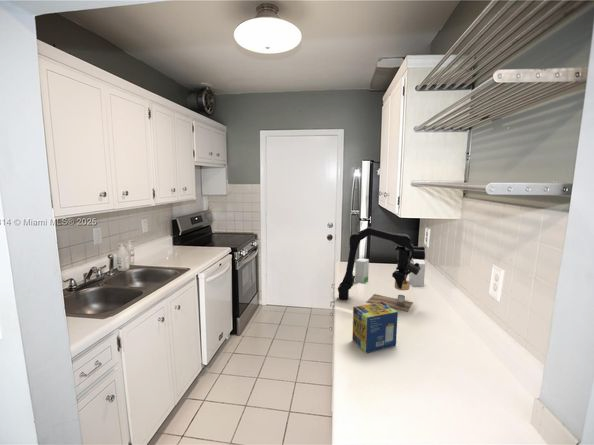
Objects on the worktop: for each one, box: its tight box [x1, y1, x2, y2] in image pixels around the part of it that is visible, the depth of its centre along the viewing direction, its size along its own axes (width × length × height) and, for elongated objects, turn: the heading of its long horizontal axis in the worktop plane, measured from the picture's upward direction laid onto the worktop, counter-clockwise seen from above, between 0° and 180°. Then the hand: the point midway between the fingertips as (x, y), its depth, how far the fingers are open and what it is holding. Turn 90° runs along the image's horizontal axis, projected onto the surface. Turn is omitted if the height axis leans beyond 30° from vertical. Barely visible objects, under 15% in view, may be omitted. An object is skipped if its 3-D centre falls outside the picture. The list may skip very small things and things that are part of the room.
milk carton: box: [408, 257, 426, 287], centre depth 194 cm, size 7×7×19 cm
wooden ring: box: [394, 279, 411, 291], centre depth 159 cm, size 7×7×4 cm
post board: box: [366, 293, 414, 313], centre depth 164 cm, size 14×22×6 cm, turn 57°
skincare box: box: [354, 258, 370, 285], centre depth 199 cm, size 8×7×16 cm
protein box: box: [351, 302, 399, 354], centre depth 126 cm, size 10×15×16 cm
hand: (401, 286), depth 159 cm, fingers closed on wooden ring, 7 cm apart
